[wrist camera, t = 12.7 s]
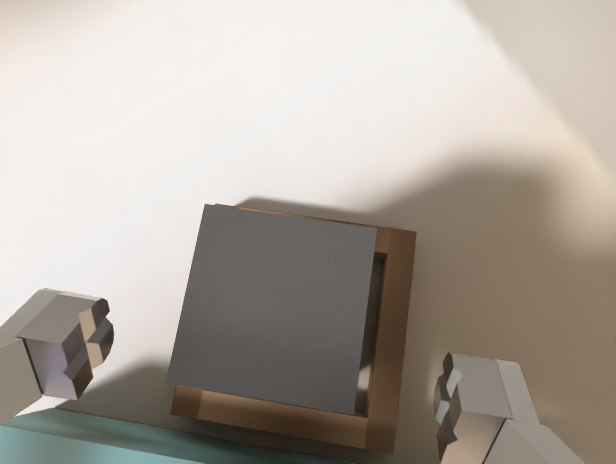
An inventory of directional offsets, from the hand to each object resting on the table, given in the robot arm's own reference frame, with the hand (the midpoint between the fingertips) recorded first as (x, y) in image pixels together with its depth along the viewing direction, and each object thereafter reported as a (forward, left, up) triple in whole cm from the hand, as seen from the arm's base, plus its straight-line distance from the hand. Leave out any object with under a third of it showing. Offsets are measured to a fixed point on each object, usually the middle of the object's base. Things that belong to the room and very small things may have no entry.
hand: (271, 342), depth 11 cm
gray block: (0, +1, -7) cm, 7 cm away
